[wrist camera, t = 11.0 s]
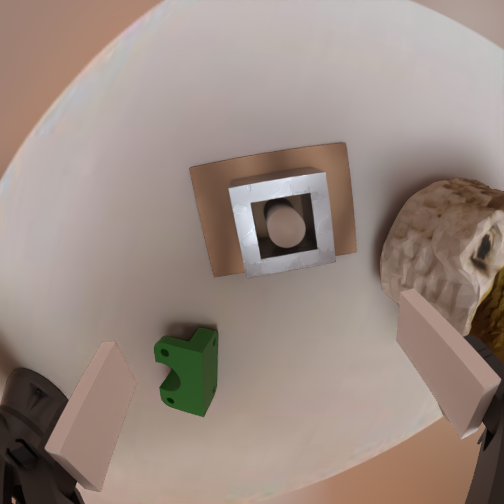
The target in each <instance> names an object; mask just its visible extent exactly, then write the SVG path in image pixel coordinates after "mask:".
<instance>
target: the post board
mask: <svg viewBox="0 0 504 504" xmlns="http://www.w3.org/2000/svg"><path fill="white" fill-rule="evenodd" d="M310 166H311V167H314V168H316V169H319V170H321V171H324V172H326V179H327V187H328V195H329V203H330V211H331V220H332V229H333V239H334V250H335V256H339V255H344V254H350V253H355V252H357V248H356V232H355V219H354V208H353V198H352V188H351V179H350V170H349V163H348V155H347V148H346V143H335V144H326V145H318V146H310V147H303V148H295V149H288V150H282V151H275V152H269V153H263V154H257V155H251V156H246V157H240V158H235V159H229V160H224V161H219V162H214V163H209V164H205V165H200V166H195V167H191V168H189V170H190V175H191V180H192V184H193V189H194V193H195V198H196V203H197V207H198V212H199V216H200V220H201V225H202V229H203V233H204V238H205V242H206V246H207V250H208V255H209V259H210V263H211V267H212V271H213V275H214V277H219V276H225V275H231V274H237V273H243V272H245V267H244V262H243V257H242V252H241V248H240V243H239V238H238V233H237V228H236V223H235V218H234V213H233V209H232V204H231V199H230V194H229V189H228V188H229V186H230V183H231V180H233V179H238V178H244V177H249V176H255V175H260V174H266V173H272V172H278V171H284V170H290V169H297V168H303V167H310ZM252 208H253V213H254V219H255V224H256V230H257V235H258V238H263V237H269V236H270V238H271V240H272V241H273V242H274V243H275V244H276V245H278V246H280V247H284V248H289V247H293V246H295V245H297V244H298V243H299V242H301V240H302V239H303V237H304V235H305V223H304V217H303V210H302V203H301V196H300V194H298V195H292V196H286V197H280V198H275V199H269V200H263V201H258V202H252Z"/></svg>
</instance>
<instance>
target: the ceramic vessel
mask: <svg viewBox="0 0 504 504" xmlns="http://www.w3.org/2000/svg"><path fill="white" fill-rule="evenodd" d="M380 274H381V284H382V290H383V291H384V292H385V293H386V294H387V295H388V296H389V297H391V298H392V299H393V300H394V301H395V302H396V303H398V304H399V299H400V292H402V291H406V290H410V289H413V288H414V289H415V290H416V291H417V292H418V293H419V294H420V295H421V296H423V297H424V298H425V299H426V300H427V301H428V302H429V303H430V304H431V305H432V306H433V307H434V308H435V309H436V310H437V311H438V312H439V313H440V314H441V315H442V316H443V317H444V318H445V319H446V320H447V321H448V322H449V323H450V324H451V325H452V326H453V327H454V328H455V329H456V330H457V331H458V332H459V334H460V335H461V336H462V337H464V336H466V335H469V334H470V335H472V336H474V337H476V338H478V339H480V340H481V341H482V342H483V343H484V344H485V345H486V346H487V348H489V349H490V350H491V351H492V352H493V355H494V354H495V355H496V357H497V358H498V359H499V360H500V361H501V362H502V363H503V364H504V191H500V190H496V189H491V188H489V186H486V185H484V184H483V183H480V182H478V181H476V180H468V179H463V178H454V179H451V180H441V181H436V182H433V183H432V184H431V185H429V186H427V187H425V188H423V189H422V190H420V191H418V192H416V193H415V194H414V195H413V196H411V197H410V198H409V199H408V200H407V201H406V203H405V204H404V206H403V207H402V208H401V210H400V212H399V213H398V215H397V217H396V219H395V221H394V223H393V225H392V227H391V229H390V231H389V234H388V236H387V238H386V241H385V242H384V244H383V250H382V254H381V258H380ZM438 405H439V403H438ZM439 407H440V409H441V411H442V414H443V415H444V417H445V419H447V420H448V421H449V419H448V418H447V416H446V414H445V413H444V411H443V410H442V408H441V406H440V405H439ZM449 422H450V421H449ZM450 423H451V422H450Z"/></svg>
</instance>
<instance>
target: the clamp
mask: <svg viewBox="0 0 504 504" xmlns="http://www.w3.org/2000/svg"><path fill="white" fill-rule="evenodd" d="M154 353H155V360H156V362H160V363H163V364H165V365H167V366H169V367H170V368H172V370H171V372H170V373H169V375H168V376H167V377H166V379H165V380H164V382H163V383H162V385H161V386H160V387H159V388H160V395H161V399H162V401H163V402H164V403H165V404H166V405H167V406H169V407H172V408H175V409H178V410H181V411H184V412H188V413H191V414H195V415H198V416H201V417H204V416H205V414H206V412H207V410H208V407H209V405H210V403H211V401H212V399H213V397H214V395H215V392H216V388H217V357H218V332H217V331H215V330H210V329H206V328H201V327H199V328H198V330H197V331H196V333H195V334H194V335H193V337H192V338H191V340H190V341H189V342H188V341H184V340H181V339H177V338H173V337H169V336H163V337H162V338H161V339H160V340H159V341H158V342H157V343H156V344H155V346H154Z"/></svg>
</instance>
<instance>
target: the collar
mask: <svg viewBox="0 0 504 504" xmlns="http://www.w3.org/2000/svg"><path fill="white" fill-rule="evenodd" d="M228 189H229V194H230V199H231V204H232V209H233V213H234V218H235V223H236V228H237V233H238V238H239V243H240V248H241V252H242V257H243V262H244V267H245V272H246V277H247V278H250V277H256V276H262V275H267V274H273V273H279V272H284V271H290V270H295V269H301V268H306V267H312V266H317V265H322V264H328V263H333V262H336V261H335V250H334V239H333V229H332V220H331V211H330V203H329V195H328V187H327V179H326V172H324V171H321V170H319V169H316V168H314V167H311V166H310V167H303V168H297V169H290V170H284V171H278V172H272V173H266V174H260V175H255V176H249V177H244V178H238V179H233V180H231V183H230V186H229V188H228ZM298 194H300V196H301V203H302V210H303V217H304V223H305V235H304V237H303V239H302V240H301V242H299V243H298V244H297V245H295V246H293V247H289V248H284V247H280V246H278V245H276V244H275V243H274V242H273V241H272V240H271V238H270V236H269V237H263V238H258V235H257V230H256V224H255V219H254V213H253V208H252V202H258V201H263V200H269V199H275V198H280V197H286V196H292V195H298Z"/></svg>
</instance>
